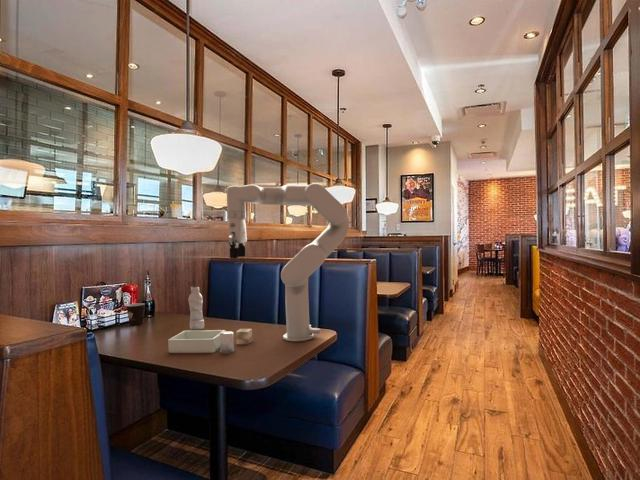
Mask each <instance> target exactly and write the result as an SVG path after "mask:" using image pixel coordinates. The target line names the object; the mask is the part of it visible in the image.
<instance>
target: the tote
mask: <svg viewBox="0 0 640 480" xmlns="http://www.w3.org/2000/svg"><path fill="white" fill-rule="evenodd" d="M226 331H227V330H226V329H214V330H213V329H212V330H210V329H207V330H206V329H204V330H203V329H201V330H183V331H181V332H180V333H178V334H176V335H174V336H172V337H170V338H169V339H167V342H168V354H202V353H203V354H206V353H207V354H209V353H210V354H211V353H213V354H214V353H215V352H216V351H218V350H219V349H220V333H221V332H226Z"/></svg>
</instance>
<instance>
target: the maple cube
mask: <svg viewBox="0 0 640 480" xmlns="http://www.w3.org/2000/svg"><path fill="white" fill-rule="evenodd" d="M235 335H236V336H235V337H236V345H250V344H251V343H252V342H253V329H252V328H239V329H237V330H236V332H235ZM249 343H250V344H249Z"/></svg>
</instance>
